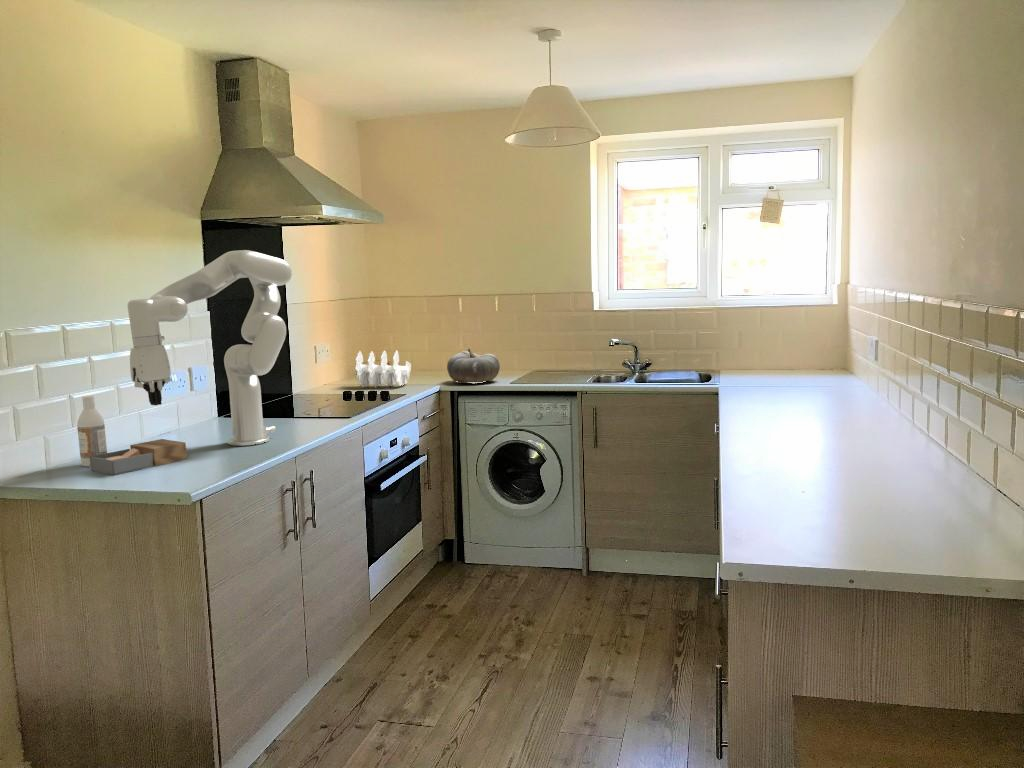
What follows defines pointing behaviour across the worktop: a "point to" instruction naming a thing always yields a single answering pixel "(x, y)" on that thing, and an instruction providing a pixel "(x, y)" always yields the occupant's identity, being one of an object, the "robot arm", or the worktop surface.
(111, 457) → the light orange block
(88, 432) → the bath foam
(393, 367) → the white shapes
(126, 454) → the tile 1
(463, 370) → the gourd
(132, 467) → the tray
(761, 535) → the worktop surface
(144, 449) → the brown slab
